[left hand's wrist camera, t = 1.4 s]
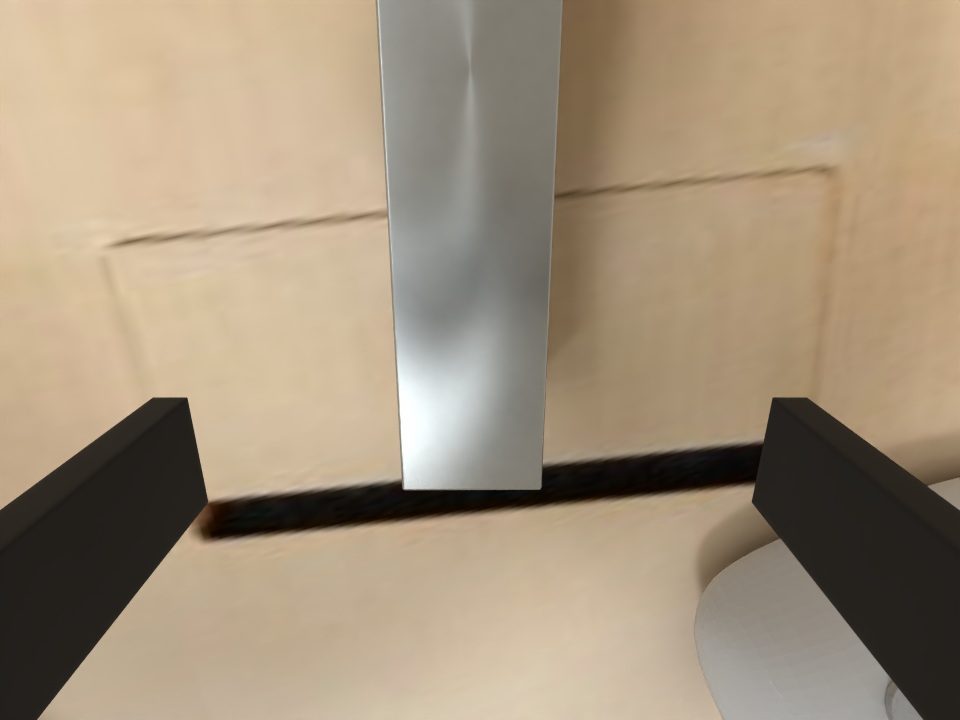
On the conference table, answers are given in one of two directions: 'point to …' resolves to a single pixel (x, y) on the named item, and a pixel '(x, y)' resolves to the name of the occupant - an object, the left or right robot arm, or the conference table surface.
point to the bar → (470, 232)
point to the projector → (790, 644)
